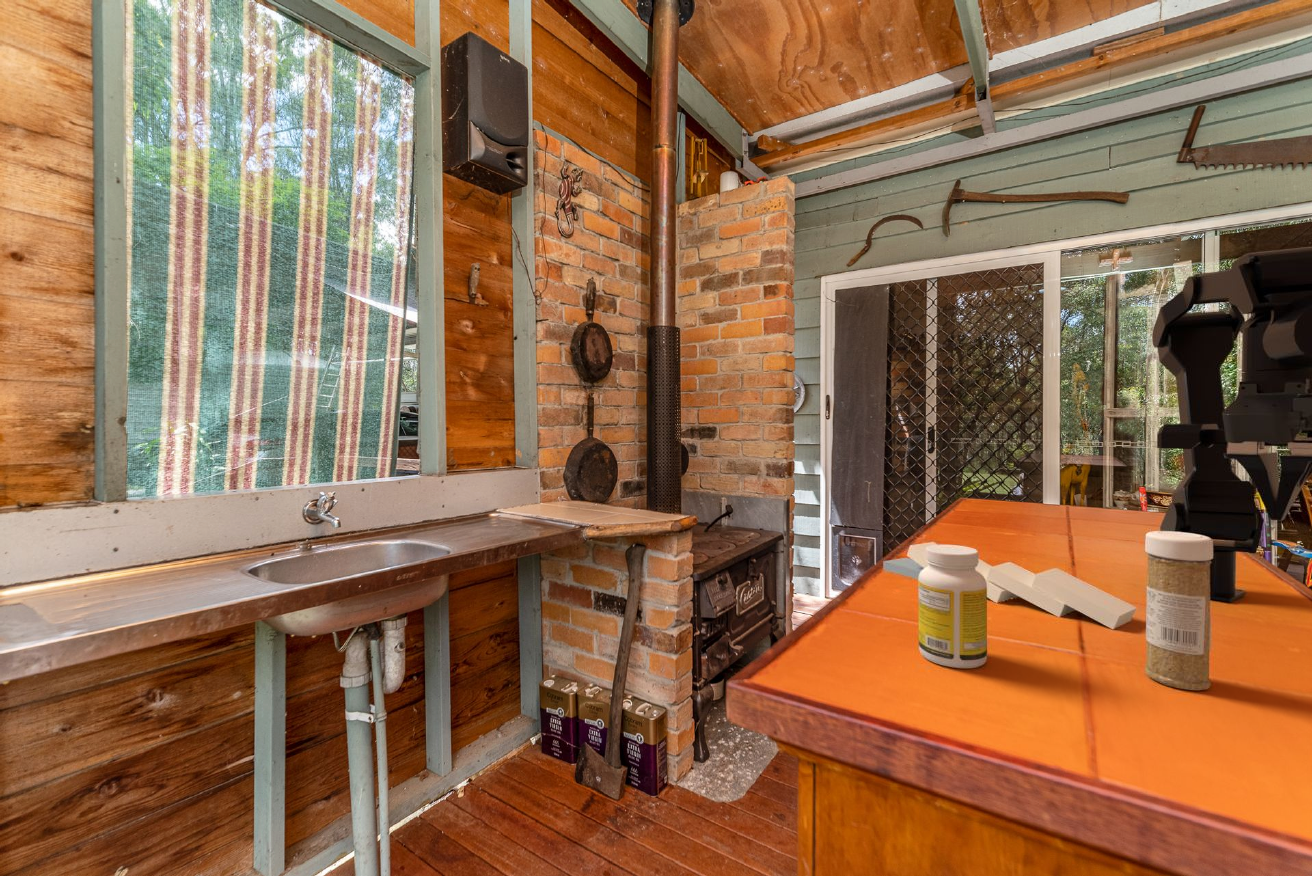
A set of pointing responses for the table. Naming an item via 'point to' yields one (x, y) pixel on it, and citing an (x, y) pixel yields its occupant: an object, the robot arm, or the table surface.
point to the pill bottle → (952, 608)
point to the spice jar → (1178, 609)
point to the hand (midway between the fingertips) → (1277, 520)
